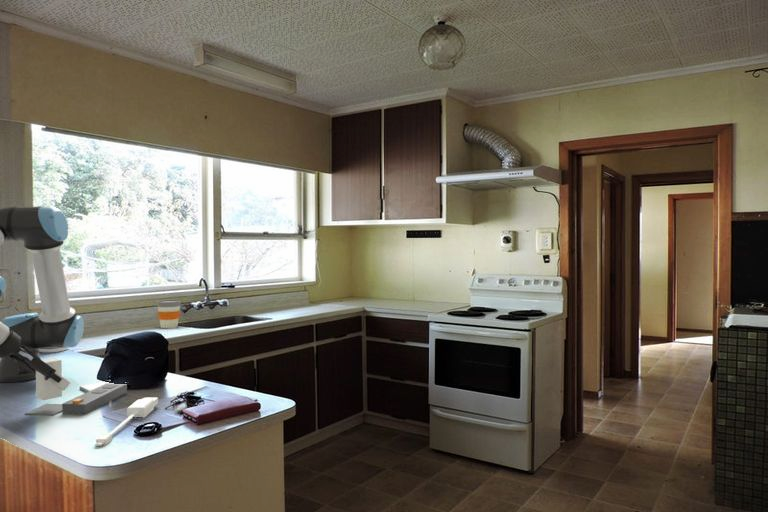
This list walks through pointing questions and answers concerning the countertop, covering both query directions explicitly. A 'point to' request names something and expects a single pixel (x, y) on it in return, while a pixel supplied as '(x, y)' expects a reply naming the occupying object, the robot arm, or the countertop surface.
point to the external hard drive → (92, 386)
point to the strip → (94, 399)
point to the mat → (46, 410)
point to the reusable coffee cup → (168, 313)
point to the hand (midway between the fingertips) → (62, 384)
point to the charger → (46, 387)
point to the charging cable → (130, 417)
